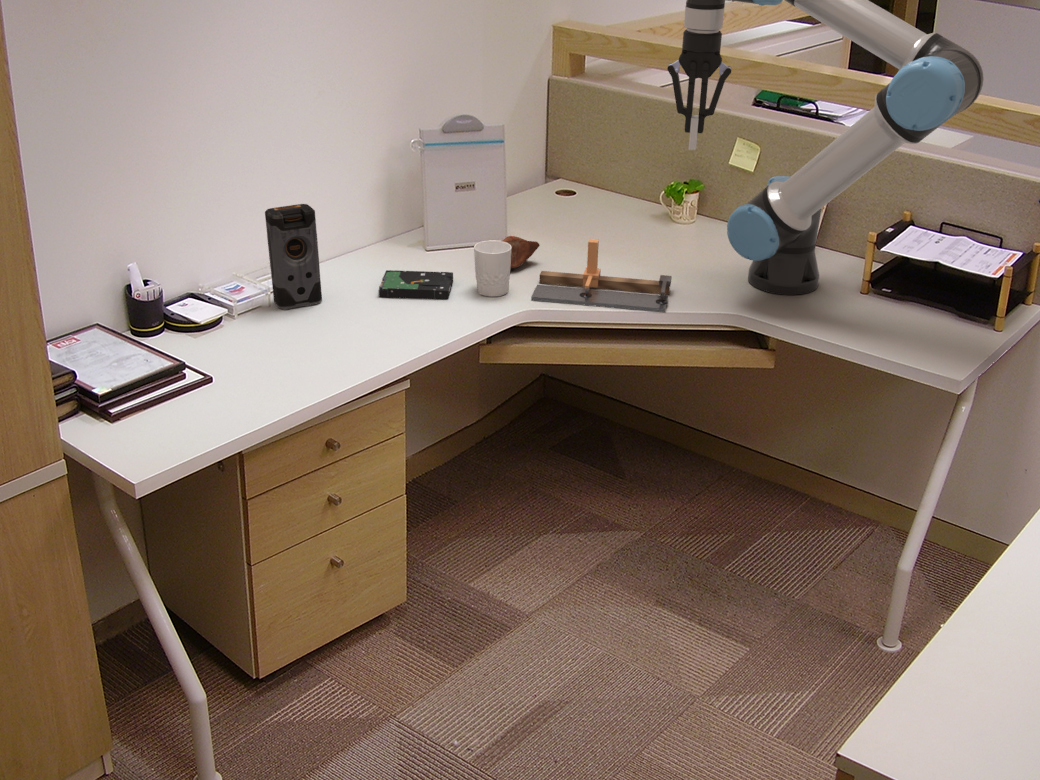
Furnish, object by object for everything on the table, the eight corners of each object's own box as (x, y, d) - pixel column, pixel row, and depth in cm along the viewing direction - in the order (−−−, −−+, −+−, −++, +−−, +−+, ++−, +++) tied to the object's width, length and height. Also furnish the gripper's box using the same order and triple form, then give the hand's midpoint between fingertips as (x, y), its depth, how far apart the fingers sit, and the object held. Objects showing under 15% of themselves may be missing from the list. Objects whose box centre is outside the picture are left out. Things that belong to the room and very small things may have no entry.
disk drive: (453, 283, 235) (385, 281, 235) (453, 271, 234) (385, 269, 234) (449, 302, 226) (378, 299, 226) (448, 290, 225) (378, 287, 225)
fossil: (542, 244, 246) (527, 216, 238) (546, 271, 241) (532, 244, 233) (490, 261, 248) (474, 234, 241) (493, 289, 244) (477, 262, 236)
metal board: (669, 299, 227) (669, 295, 227) (666, 312, 221) (666, 308, 221) (537, 288, 232) (537, 284, 231) (531, 300, 226) (531, 296, 225)
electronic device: (280, 311, 219) (270, 217, 210) (272, 301, 224) (262, 208, 214) (324, 303, 223) (317, 210, 214) (315, 293, 228) (307, 202, 218)
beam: (670, 289, 232) (671, 275, 230) (667, 307, 224) (668, 292, 222) (541, 278, 237) (542, 264, 235) (533, 295, 228) (534, 281, 227)
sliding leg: (600, 280, 235) (602, 238, 230) (593, 297, 226) (596, 254, 221) (585, 278, 235) (587, 236, 231) (578, 296, 226) (580, 253, 222)
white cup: (506, 299, 226) (507, 254, 221) (470, 296, 227) (469, 251, 223) (514, 285, 233) (514, 241, 228) (479, 282, 234) (478, 238, 230)
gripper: (736, 28, 214) (724, 145, 225) (671, 25, 216) (662, 141, 227) (736, 34, 207) (723, 155, 219) (668, 31, 210) (659, 151, 221)
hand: (692, 148), depth 223 cm, fingers closed
